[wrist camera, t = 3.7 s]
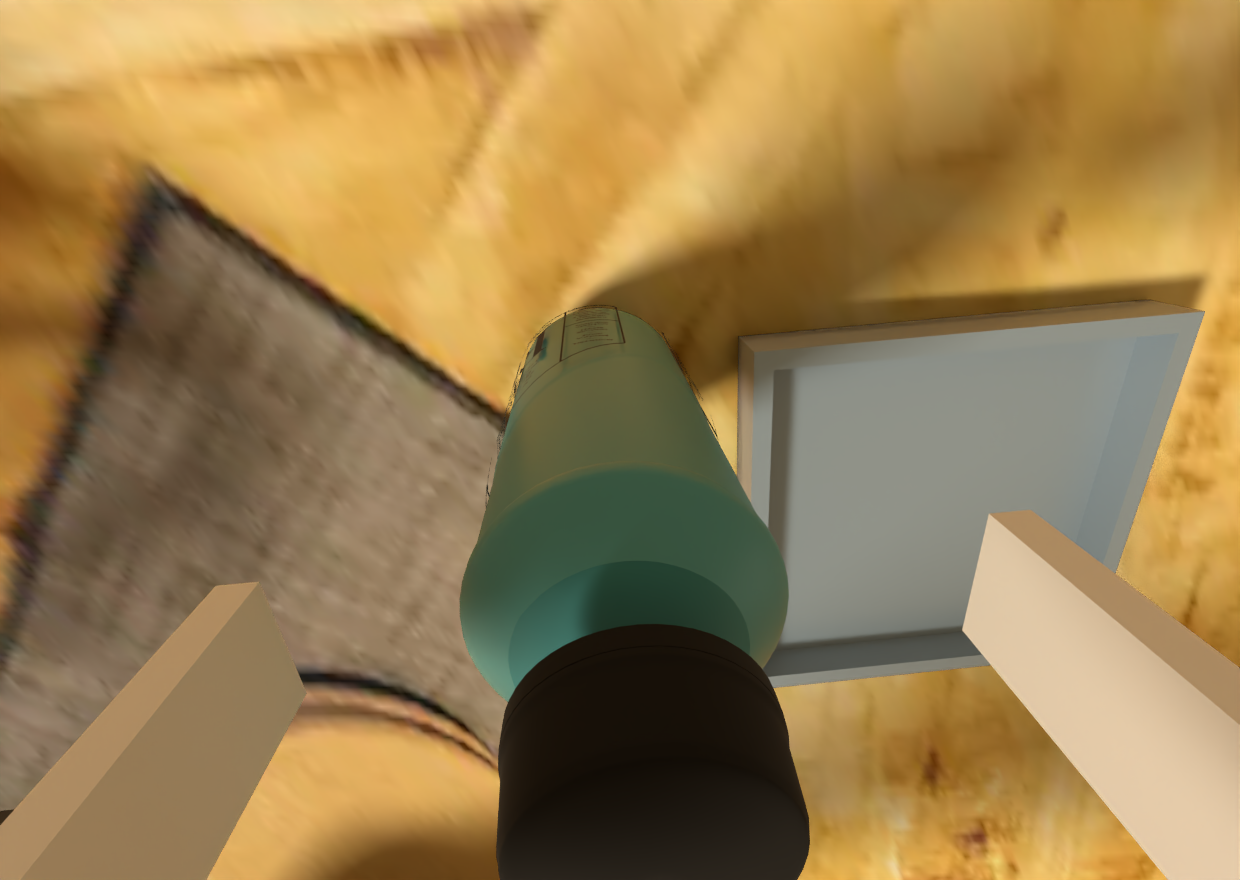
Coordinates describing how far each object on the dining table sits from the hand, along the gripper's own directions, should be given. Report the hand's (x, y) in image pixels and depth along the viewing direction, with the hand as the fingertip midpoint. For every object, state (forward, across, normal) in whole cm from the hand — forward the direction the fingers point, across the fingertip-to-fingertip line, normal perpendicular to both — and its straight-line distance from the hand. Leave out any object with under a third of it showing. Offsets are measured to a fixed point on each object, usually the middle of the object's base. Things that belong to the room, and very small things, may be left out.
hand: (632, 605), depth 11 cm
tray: (+16, +15, -8) cm, 23 cm away
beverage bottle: (+16, 0, 0) cm, 16 cm away
